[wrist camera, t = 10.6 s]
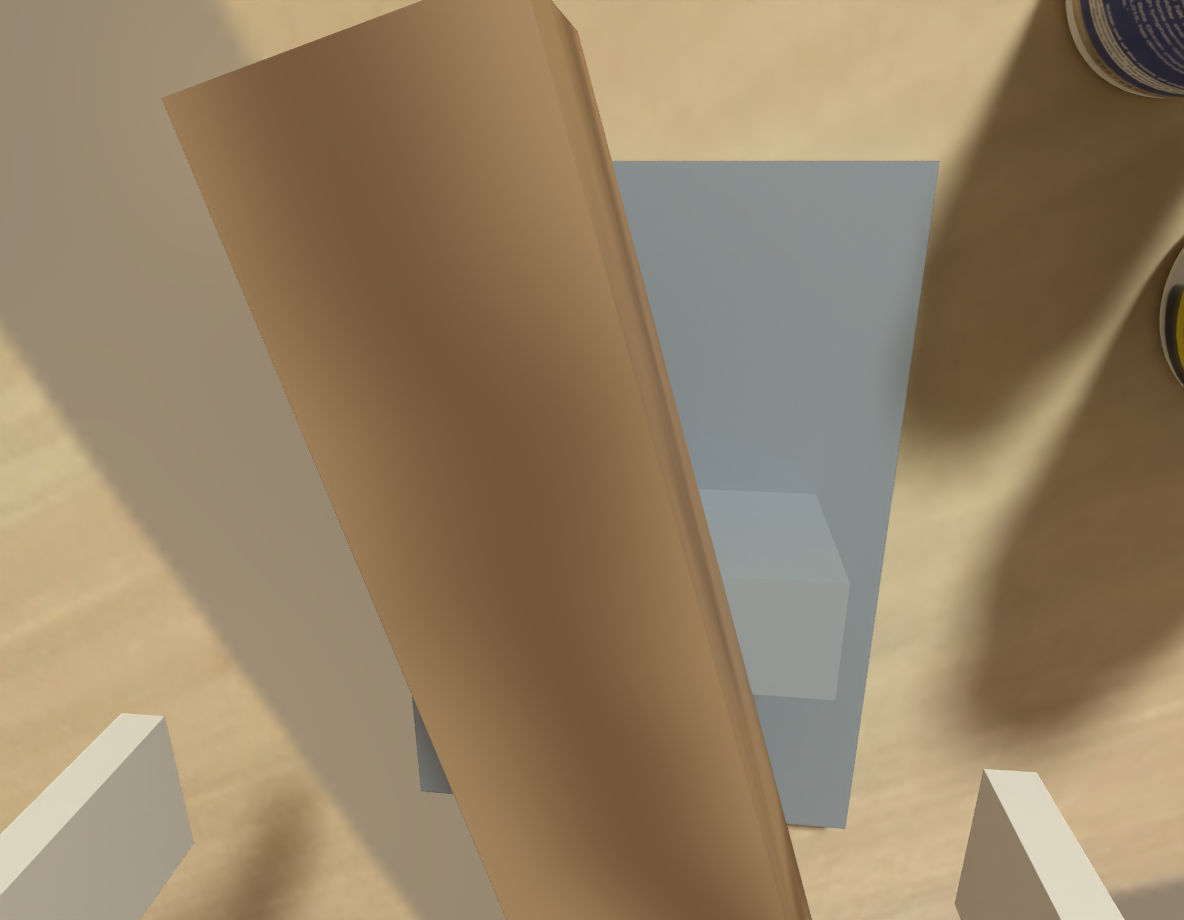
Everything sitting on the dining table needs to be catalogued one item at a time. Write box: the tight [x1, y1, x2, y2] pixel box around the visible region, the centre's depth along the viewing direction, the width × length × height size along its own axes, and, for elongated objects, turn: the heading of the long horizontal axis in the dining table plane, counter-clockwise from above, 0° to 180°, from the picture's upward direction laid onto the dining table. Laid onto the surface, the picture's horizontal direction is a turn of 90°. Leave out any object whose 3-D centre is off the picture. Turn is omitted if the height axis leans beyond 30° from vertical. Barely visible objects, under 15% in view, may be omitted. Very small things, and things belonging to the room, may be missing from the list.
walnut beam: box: [162, 0, 812, 920], centre depth 16 cm, size 5×24×5 cm, turn 16°
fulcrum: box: [412, 161, 939, 829], centre depth 21 cm, size 14×20×6 cm
